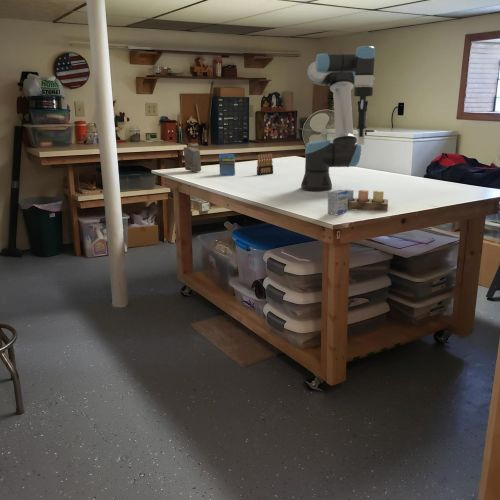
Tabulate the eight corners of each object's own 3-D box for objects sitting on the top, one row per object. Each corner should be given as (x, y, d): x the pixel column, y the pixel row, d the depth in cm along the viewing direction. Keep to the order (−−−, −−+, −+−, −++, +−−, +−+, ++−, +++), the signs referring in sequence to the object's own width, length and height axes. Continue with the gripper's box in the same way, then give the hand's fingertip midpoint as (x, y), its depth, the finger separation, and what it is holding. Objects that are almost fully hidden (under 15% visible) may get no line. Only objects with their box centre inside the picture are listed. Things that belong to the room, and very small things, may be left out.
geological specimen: (201, 172, 310) (200, 147, 306) (192, 173, 307) (191, 148, 302) (193, 170, 319) (192, 146, 314) (184, 171, 315) (183, 146, 311)
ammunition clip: (271, 173, 305) (271, 152, 301) (273, 173, 303) (273, 153, 300) (256, 175, 299) (256, 154, 295) (258, 175, 297) (258, 154, 294)
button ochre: (372, 205, 210) (373, 192, 209) (373, 203, 214) (373, 190, 212) (382, 205, 209) (383, 192, 208) (382, 203, 213) (383, 190, 211)
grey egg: (342, 203, 213) (343, 191, 212) (343, 201, 217) (344, 189, 215) (352, 204, 212) (353, 191, 211) (353, 202, 216) (354, 189, 214)
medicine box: (336, 215, 201) (337, 193, 199) (327, 213, 204) (327, 192, 202) (347, 211, 207) (348, 190, 204) (338, 210, 210) (338, 189, 207)
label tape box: (235, 174, 303) (235, 153, 299) (234, 175, 299) (234, 154, 295) (220, 174, 303) (220, 153, 300) (219, 175, 300) (219, 154, 296)
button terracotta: (357, 204, 212) (358, 191, 210) (358, 202, 215) (358, 189, 214) (367, 204, 211) (368, 192, 209) (368, 202, 214) (368, 190, 213)
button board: (337, 208, 212) (337, 201, 211) (339, 204, 220) (339, 197, 219) (387, 211, 207) (387, 203, 206) (387, 206, 215) (388, 199, 214)
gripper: (372, 86, 206) (368, 146, 213) (373, 86, 218) (370, 143, 225) (353, 86, 208) (350, 145, 215) (355, 86, 220) (353, 142, 227)
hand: (360, 144), depth 220 cm, fingers closed
